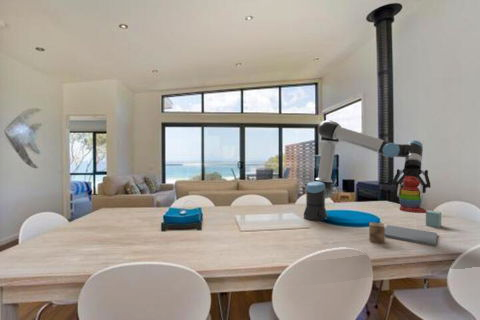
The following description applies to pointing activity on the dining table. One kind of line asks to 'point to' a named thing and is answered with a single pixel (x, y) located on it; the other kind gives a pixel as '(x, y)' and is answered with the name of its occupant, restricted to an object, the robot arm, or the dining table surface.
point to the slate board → (411, 235)
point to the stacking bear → (410, 196)
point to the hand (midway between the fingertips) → (409, 196)
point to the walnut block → (376, 232)
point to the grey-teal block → (433, 218)
